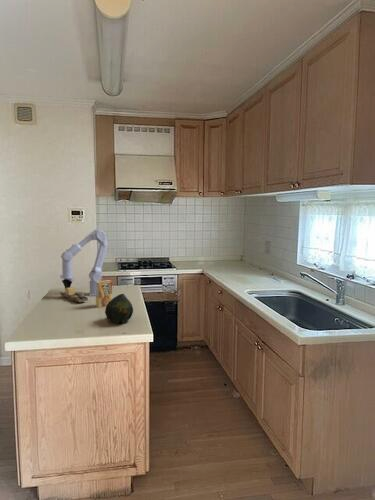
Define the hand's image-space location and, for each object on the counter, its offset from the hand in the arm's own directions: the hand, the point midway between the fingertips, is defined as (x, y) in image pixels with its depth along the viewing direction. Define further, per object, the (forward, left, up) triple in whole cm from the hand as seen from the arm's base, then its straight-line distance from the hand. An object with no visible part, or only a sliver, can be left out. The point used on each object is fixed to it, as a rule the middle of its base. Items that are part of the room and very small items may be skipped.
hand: (67, 290), depth 242 cm
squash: (-28, +56, -5) cm, 63 cm away
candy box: (-22, +26, -5) cm, 34 cm away
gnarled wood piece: (-4, +7, -5) cm, 9 cm away
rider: (-2, +3, -2) cm, 4 cm away
